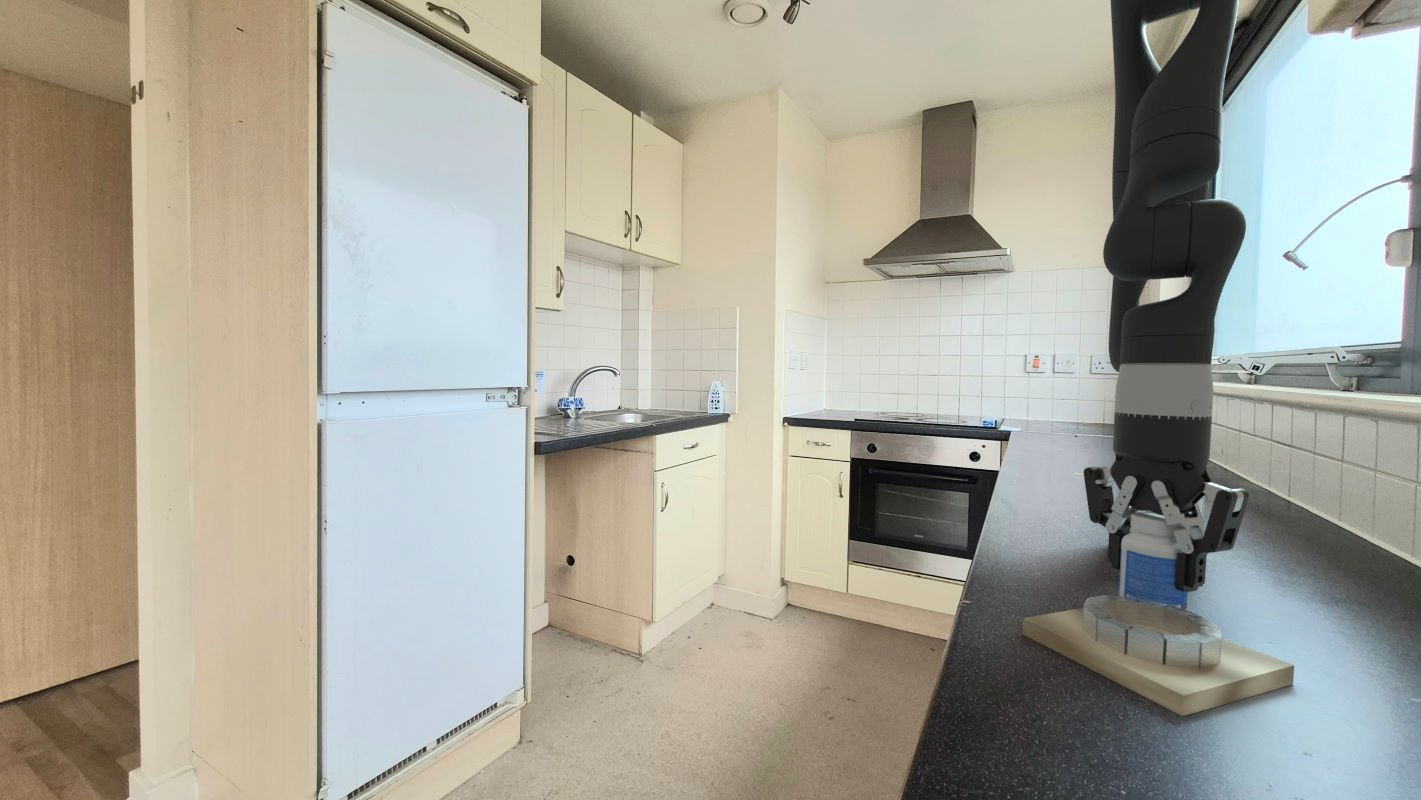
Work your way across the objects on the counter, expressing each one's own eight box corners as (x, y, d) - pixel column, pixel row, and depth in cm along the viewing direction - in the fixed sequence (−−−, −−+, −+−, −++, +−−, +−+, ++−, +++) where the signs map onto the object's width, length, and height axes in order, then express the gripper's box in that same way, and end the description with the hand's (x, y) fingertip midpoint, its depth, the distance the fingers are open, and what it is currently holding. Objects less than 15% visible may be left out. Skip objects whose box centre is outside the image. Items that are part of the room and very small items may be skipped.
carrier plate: (1121, 615, 56) (1122, 600, 56) (1292, 684, 44) (1294, 665, 44) (1022, 634, 52) (1023, 618, 52) (1182, 716, 39) (1183, 695, 39)
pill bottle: (1199, 628, 54) (1206, 526, 53) (1135, 622, 55) (1140, 522, 54) (1165, 604, 59) (1171, 512, 58) (1107, 599, 60) (1112, 508, 59)
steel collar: (1129, 611, 53) (1130, 590, 53) (1246, 656, 45) (1248, 632, 45) (1059, 624, 50) (1060, 602, 50) (1171, 675, 42) (1172, 649, 42)
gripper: (1277, 415, 50) (1265, 602, 51) (1114, 405, 64) (1107, 553, 65) (1223, 416, 48) (1212, 613, 49) (1066, 406, 61) (1059, 560, 62)
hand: (1152, 578), depth 57 cm, fingers closed on pill bottle, 5 cm apart
